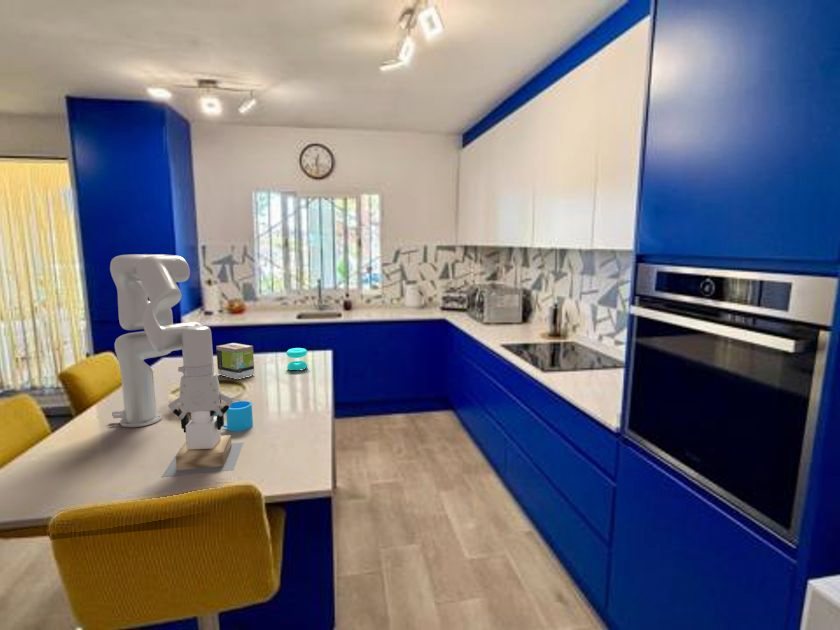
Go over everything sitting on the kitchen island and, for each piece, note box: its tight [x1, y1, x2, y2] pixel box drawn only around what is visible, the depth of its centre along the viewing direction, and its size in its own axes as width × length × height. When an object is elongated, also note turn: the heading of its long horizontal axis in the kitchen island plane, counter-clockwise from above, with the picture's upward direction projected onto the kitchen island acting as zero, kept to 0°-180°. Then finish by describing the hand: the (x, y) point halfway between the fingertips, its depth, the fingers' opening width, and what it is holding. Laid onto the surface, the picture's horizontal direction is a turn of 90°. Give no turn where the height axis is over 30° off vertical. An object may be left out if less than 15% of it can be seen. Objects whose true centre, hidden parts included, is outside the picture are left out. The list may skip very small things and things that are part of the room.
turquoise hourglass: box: [285, 347, 309, 371], centre depth 227 cm, size 10×10×10 cm
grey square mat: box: [161, 442, 244, 478], centre depth 131 cm, size 18×18×1 cm
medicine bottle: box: [185, 410, 222, 450], centre depth 129 cm, size 7×7×12 cm
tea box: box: [215, 342, 255, 379], centre depth 215 cm, size 15×10×15 cm, turn 58°
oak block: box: [175, 434, 232, 470], centre depth 130 cm, size 12×12×4 cm
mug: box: [214, 400, 254, 432], centre depth 153 cm, size 12×8×8 cm
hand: (203, 429), depth 129 cm, fingers open, 8 cm apart
